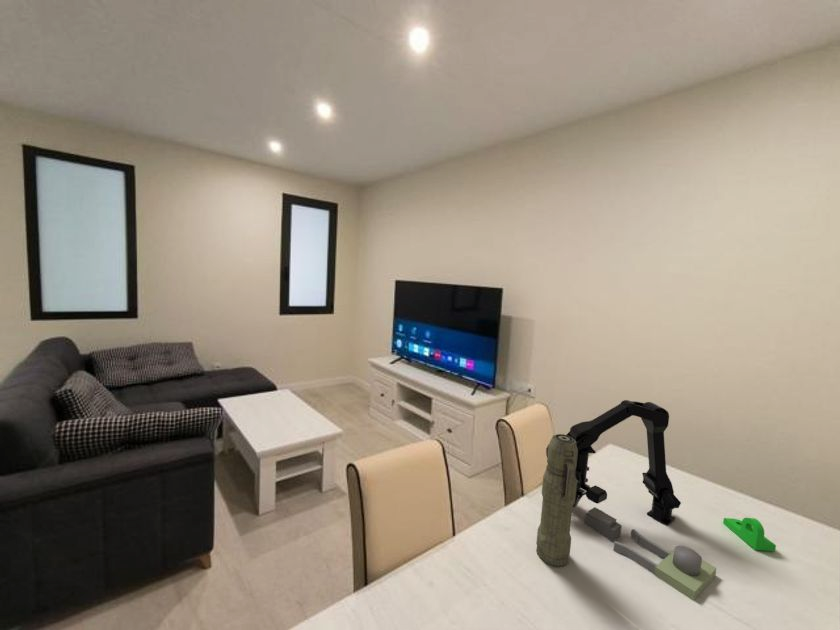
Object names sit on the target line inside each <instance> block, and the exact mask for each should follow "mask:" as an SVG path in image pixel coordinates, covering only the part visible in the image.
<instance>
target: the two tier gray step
mask: <svg viewBox="0 0 840 630" xmlns="http://www.w3.org/2000/svg"><path fill="white" fill-rule="evenodd" d="M584 525H585V526H587V527H588V528H590V529H592V531H595V532H596V533H598V534H599V535H600V536H602V537H604V538H605V539H607V540H608V541H610V542H612V543H613V542H614V541H616V540H617V539H619V538H620V537H621V535H622V528H623V526H622V524H621V523H619V522H617V519H616V518H615V517H614V516H611V515H609V514H607V513H606V512H604V511H603V510H601V509H599V508H597V507H595V506H594V507H593V508H591V509H590V510H588V512H587V513H585V515H584Z"/></svg>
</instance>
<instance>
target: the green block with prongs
mask: <svg viewBox="0 0 840 630" xmlns="http://www.w3.org/2000/svg"><path fill="white" fill-rule="evenodd" d="M630 531H631V532H630V538H631V539H632V540H633V541H634V542H635V543H636V544H638V546H640V547H642V548H644V549H645V550H646V551H649V552H650V553H652V554H654V555H656V556H657V557H659V558H660V559H662V560H661V561H660V562H659V563H658V564H657V563H655V562H654V561H652V560H651V559H649V558H647V557H646V556H644V555H643V554H642V553H639V552H638V551H637V550H635V549H634V548H632V547H630V546H628V545H626V544H625V543H621V542H619V541H616V540H615V541H613V542H614V543H613V550H612V551H613V552H616V553H618V554H620V555H621V554H622V555H624V556H625V557H626V558H628V559H630V560H631V561H633V562H635V563H636V564H638V565H639V566H641V567H642V568H644V570H647V571H649V572H650V573H652V574H653V576H655V577H657V578H659V580H661V581H663V582H665V583H666V584H668V585H669V586H671V587H672V588H673V589H675V590H676V591H678V592H679V593H681V594H683V595H684V596H685V597H687V598H688V599H690V600H692V601H695V600H696V598H697V597H698V596H699V595H700V594H701V592H703V591H704V589H705V588H706V587H707V586H708V585H709V584H710V583H711V582H712V580H713V579H714V578H715V577H716V575H717V566H714V565H712V564H711V563H709V562H707V561H705V560H703V557H702V556H701V555H700V554H699V552H697V551H695V550H694V549H692V548H690V547H688V546H684V545H675V546H674V549H673V551H668V550H666V549H665V548H664V547H661V546H660V545H658V544H656V543H655V542H653V541H651V540H649V539H648V538H646V537H644V536H642V535H641V534H640V533H639V532H638V531H637V530H636V529H634V528H632V529H630Z"/></svg>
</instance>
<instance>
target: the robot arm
mask: <svg viewBox="0 0 840 630" xmlns="http://www.w3.org/2000/svg"><path fill="white" fill-rule="evenodd" d="M669 414H670V413H669V411H668V410H666V408H664V407H662V406H660V405H657V404H656V403H653V402H651V401H646V402H641V401H634V400H633V401H632V400H628V399H623V400H622V401H621V402H620V403H619V404H618V405H616V406H613V407H612V408H611V409H608V410H607V411H605V412H604V413H602V414H599V416H596V417H595V418H593V419H592V420H588V421H582V422H579V423H577V424H574V425H572V426H571V427H570V428H569V431H568V433H567V434H566V435H567V436H570V437H572V438H573V439H574V440H575V441H576V445H577V449H578V455H577V465H576V474H575V478H576V482H577V488H576V497H575V504H574V505H573V507H572V508H576V507H577V506H578V504H579V503H580V501H581V499H582V498H583V497H584V496H585V497H586V499H587V500H589V501H591V502H593V503H595V504H601V503H602V502H605V501H606V500H607V498H608V492H607V491H606V490H605V489H604V488H602V487H600V486H598V485H592V486H590V484H588V482H589V478H587V474H588V473H587V472H588V471H590V467H589V466H588V464H589V454H596V453H597V451H595V449H594V448H593V447H592V446H593V445H594V444H595V443H596V442H597V441H599V438H600V436H601V435H602V434H603V433H605V432H607V431H608V430H610V429H611V428H613V427H615V426H617V425H618V424H620V423H623V422H624V421H626V420H627V419H629V418H630V417H632V416H634V417H638V418H641V421H642V423H643V425H644V427H645V429H646V442H647V455H648V457H647V458H648V470H647V471H646V472H642V474H641V475H642V484H643V485H644V486H645V488H646V490H647V491H648V494H650V495H651V496H652V504H651V509H650V510H649V511H648V512H646V515H647V516H648V517H650V518H652V519H654V520H656V521H658V522H660V523H662V524H664V525H666V526H669V525H670V524H671V523H673V522H674V521H675V520H676V517H675V516H672V515H673V510H675V509H679V508H680V506H681V504H682V502H681V501H680V500H679V499H678V497H676V495H675V494H674V493H675V491H674V487H673V484H672V481H671V478H670V477H669V476H668V473H667V464H666V463H667V461H666V448H665V447H666V446H665V445H666V443H665V431H666V430H667V428H668V427H669V422H670V415H669ZM548 446H549V444H547V447H546V448H545V452H546V453H545V454H546V458H547V457H548Z"/></svg>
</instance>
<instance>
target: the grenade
mask: <svg viewBox="0 0 840 630" xmlns="http://www.w3.org/2000/svg"><path fill="white" fill-rule="evenodd" d="M548 445H549V446H548ZM548 445H547V446H548V457H547V456H546V463H547V465H546V468H545V471H544V473H543V475H542V484H541V495H542V503H541V504H542V505H541V513H540V523H539V525H538V527H537V535H536V551H535V552H536V555H537V557H538V558H539V559H540V561H542V562H543V563H545V564H546V565H548V566H550V567H554V568H556V569H557V568H564V567H566V566H567V565H568V564H569V557H570V553H571V544H572V537H571V536H572V535H571V525H572V515H573V508H574V507H573V505H574V504H575V497H576V488H577V482H576V478H575V474H576V465H577V455H578V449H577V445H576V441H575V440H574V439H573V438H572V437H570V436H567V434H563V433H558V434H553V435H552V437H551V439H550V441H549V443H548Z"/></svg>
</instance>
